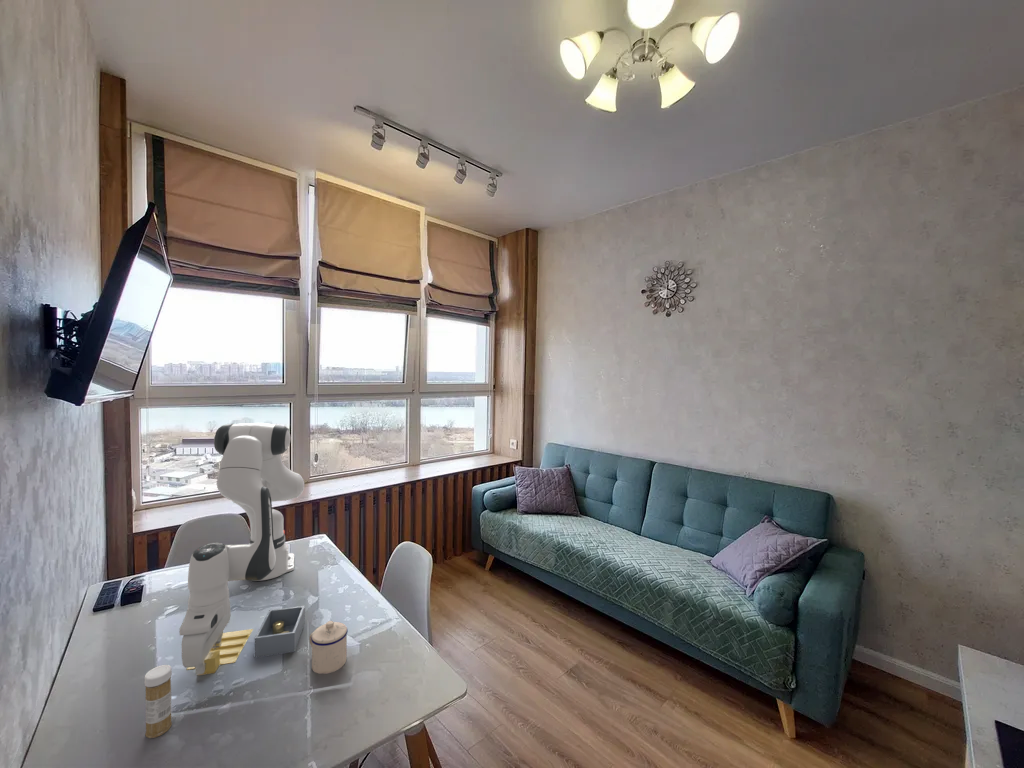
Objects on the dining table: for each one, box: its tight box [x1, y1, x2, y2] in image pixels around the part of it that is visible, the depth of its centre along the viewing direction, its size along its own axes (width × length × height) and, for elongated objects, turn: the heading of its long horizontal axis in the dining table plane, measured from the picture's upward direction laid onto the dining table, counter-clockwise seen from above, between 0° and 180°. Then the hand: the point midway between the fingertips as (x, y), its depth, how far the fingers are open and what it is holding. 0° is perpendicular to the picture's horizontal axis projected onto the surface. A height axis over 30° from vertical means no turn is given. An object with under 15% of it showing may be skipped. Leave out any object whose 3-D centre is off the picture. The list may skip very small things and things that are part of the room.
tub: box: [253, 605, 306, 658], centre depth 122 cm, size 14×10×6 cm
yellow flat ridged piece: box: [186, 628, 254, 677], centre depth 117 cm, size 18×11×4 cm, turn 16°
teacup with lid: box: [309, 620, 348, 675], centre depth 114 cm, size 12×9×12 cm
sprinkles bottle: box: [144, 664, 173, 739], centre depth 91 cm, size 5×5×13 cm
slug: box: [273, 621, 284, 635], centre depth 125 cm, size 3×3×3 cm
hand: (209, 659), depth 110 cm, fingers open, 8 cm apart
